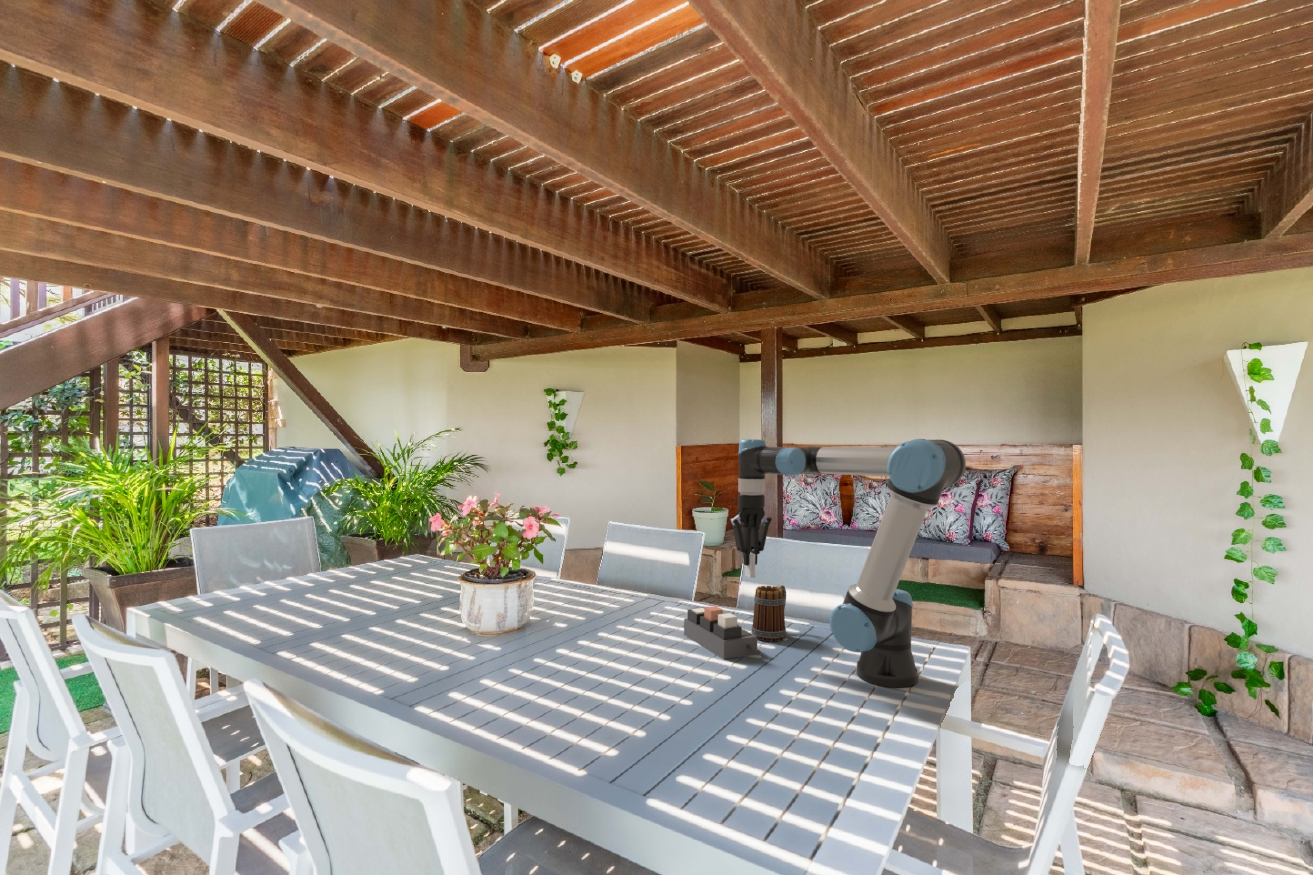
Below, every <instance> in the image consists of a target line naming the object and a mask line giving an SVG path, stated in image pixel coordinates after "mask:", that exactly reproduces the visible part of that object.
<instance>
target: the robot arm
mask: <svg viewBox="0 0 1313 875" xmlns="http://www.w3.org/2000/svg"><path fill="white" fill-rule="evenodd" d="M766 444H767V443H766V440H765V439H758V438H757V439H755V438H754V439H753V438H752V439H751V438H750V439H749V438H747V439H746V438H745V439H741V440H740V441H739V444H738V454H737V456H738V479H737V480H738V484H737V486H738V487H737V491H738V493H739V494H738V495H737V506H738V510H737V512H736V516H734V517H733V518H729V522H730V525H731V527H732V529H733V530H732V531H733V535H734V542H735V546H736V550H737V551H738V552H740V553H742V555H743V556H742V563H743V565H744V576H745V577H747V578H750V579H751V578H755V577H756V566H757V564H758V555H760V553H761V552H763V551H764V550H765V545H766V541H767V535H768V532H769V531H768V530H769V527H770V526H769V525H770V524H771V522H772V521H773V518H772V517H770V516H767V514H766V513H765V510H764V508H765V505H766V504H765V500H766V499H765V498H766V497H765V495H764V493H765V492H766V474H771V475H780V476H781V475H782V476H786V477H788V476H799V475H800V474H823V475H824V474H827V475H843V476H844V475H846V476H847V475H849V476H850V475H851V476H868V477H869V476H870V477H889V479H888V482H887V484H886V489H887V490H888V493H889V494H890V497H889V499H888V502H887V503H886V504H887V505H886V507H885V510H884V513H883V515H882V517H881V521H880V522H879V526H878V528H877V530H876V534H875V535H874V539H873V541H872V544H871V546H870V549H869V552H868V555H867V557H866V560H865V562H864V565H863V568H862V571H861V572H860V575H859V578H858V581H857V583H854V584H851V585H850V586H849V587H848V589H847V592H846V594H845V597H844V599H843V602H842V604H838V605H837V606H836V607H835V608H834V609H833V610H832V611H831V613H830V616H829V627H830V628H829V629H830V630H831V632H832V635H833V637H834V638H833V639H835V640H836V642H837V643H838V644H839V645H840V646H841V647H843V648H844V649H846V650H847V651H849V652H853V653H860V655H859V658H858V661H857V662H856V675H857V677H859V678H860V679H862V680H863V681H864V682H867V683H870V684H874V685H877V686H882V687H889V688H907V687H908V688H909V687H912V686H915V685H916V684H917V683H918V681H919V671H918V668H917V667H916V663H915V659H914V655H913V652H912V626H913V625H912V624H913V623H912V620H913V619H912V617H913V601H912V600H913V599H912V596H911V594H910V593H909V592H908V591H906V590H902V589H899V588H897V587H898V585H899V582H900V580H901V577H902V575H903V572H904V569H905V567H906V565H907V562H908V560H909V558H910V554H911V552H912V549H913V547H914V545H915V542H916V539H917V537H918V534H919V532H920V531H921V530H920V529H921V527H922V524H923V522H924V519H925V517H926V514H927V512H928V510H929V509H931V508H934V507H936V506H938V503H939V502H940V499H941V496H942V494H943V492H944V488H949V487H951V486H953V485H955V484H957V483H958V482H959V481H960V480H961V478H962V477H963V476H964V474H965V471H966V465H967V464H966V457H965V455H964V453H963V451H962V450H961V448H960V447H959V446H957V445H956V444H955V443H954V442H952V441H948V440H945V439H926V438H915V439H910V440H908V441H906V442H905V441H904V442H903V443H901V444H899V445H898V446H896V447H891V446H890V447H889V446H888V447H887V446H886V447H884V446H883V447H874V446H873V447H871V446H870V447H869V446H868V447H866V446H863V447H862V446H861V447H860V446H812V445H811V446H767V445H766Z"/></svg>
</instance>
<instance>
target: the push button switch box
mask: <svg viewBox="0 0 1313 875" xmlns="http://www.w3.org/2000/svg"><path fill="white" fill-rule="evenodd" d="M683 636H685V637H686V638H688V639H690V640H692V641H693V642H695V643H697V644H698V645H700V646H701V647H703V648H704V649H706V650H708V651H710V652H711V653H713V654H715V655H716V656H717V657H720V658H721V659H722V660H727V659H734V658H740V657H746V656H753V655H754V656H755V655H758V656H760V655H761V654H762V651H761V650H760V649H758V640H757V636H755V635H753V634H752V632H749V631H747V630H745V629H744V628H742V626H740V625H739V624H737V627H732V628H723V627H721V626H719V625H718V620H714V621H710V620H708V619H706V618H704V613H701V614H697V613H695V612H693V611H692V608H691V609H687V618H686V617H685V618H684V619H683Z"/></svg>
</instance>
